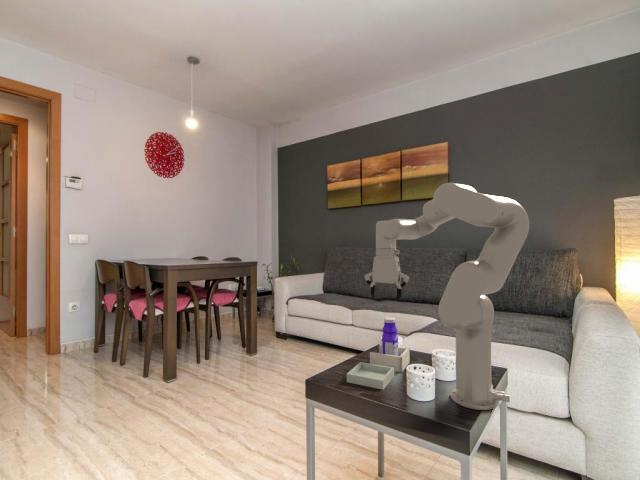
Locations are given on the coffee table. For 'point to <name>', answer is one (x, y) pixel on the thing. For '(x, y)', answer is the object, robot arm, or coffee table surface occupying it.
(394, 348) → the bottle
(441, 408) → the coffee table surface
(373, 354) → the box
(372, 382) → the tray
